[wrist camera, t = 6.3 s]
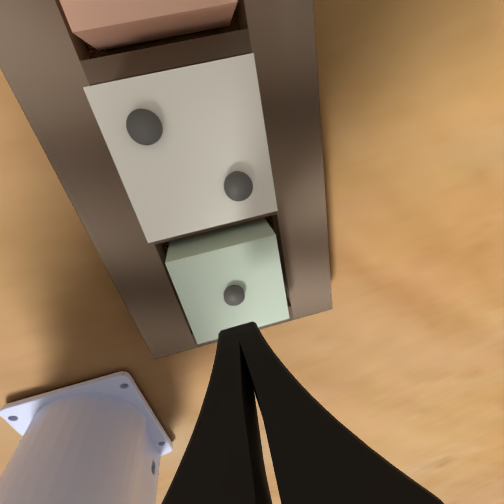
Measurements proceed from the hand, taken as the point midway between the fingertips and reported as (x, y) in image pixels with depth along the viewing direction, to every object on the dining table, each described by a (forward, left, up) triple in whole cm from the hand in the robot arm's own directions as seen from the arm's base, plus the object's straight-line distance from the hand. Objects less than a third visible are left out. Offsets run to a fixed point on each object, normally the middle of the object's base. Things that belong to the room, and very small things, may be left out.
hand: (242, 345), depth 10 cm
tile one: (0, 0, -6) cm, 6 cm away
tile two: (+7, 0, -4) cm, 8 cm away
